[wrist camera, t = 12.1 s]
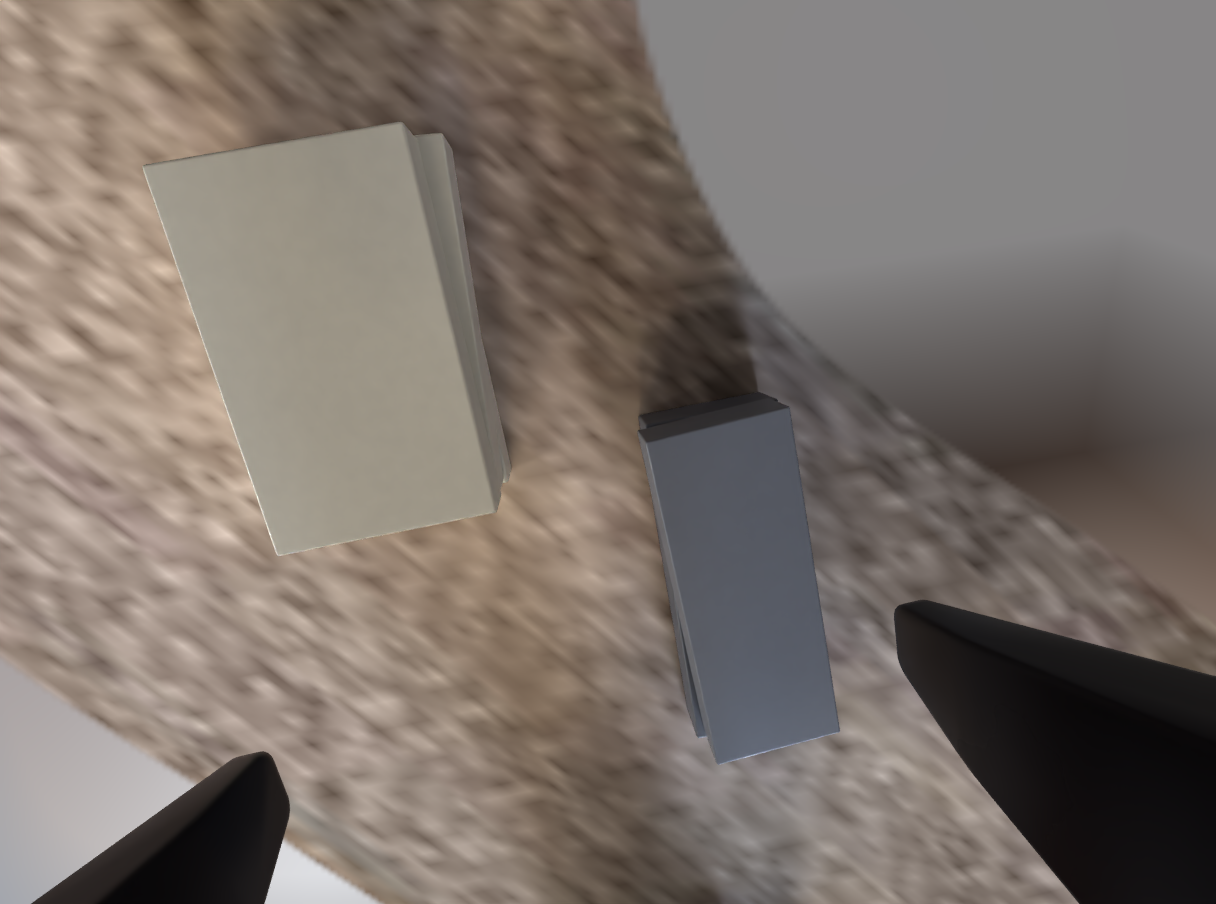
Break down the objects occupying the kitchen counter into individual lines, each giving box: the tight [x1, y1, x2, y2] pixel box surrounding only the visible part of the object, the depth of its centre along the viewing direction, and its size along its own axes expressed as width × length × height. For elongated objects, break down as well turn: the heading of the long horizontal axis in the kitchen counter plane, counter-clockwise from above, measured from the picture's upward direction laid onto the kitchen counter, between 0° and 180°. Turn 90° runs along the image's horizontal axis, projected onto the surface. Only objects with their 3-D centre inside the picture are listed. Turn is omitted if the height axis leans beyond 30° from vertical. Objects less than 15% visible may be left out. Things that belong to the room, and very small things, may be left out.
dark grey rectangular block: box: [638, 392, 840, 765], centre depth 19 cm, size 11×4×3 cm, turn 10°
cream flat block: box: [204, 133, 511, 490], centre depth 16 cm, size 10×6×3 cm, turn 10°
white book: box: [143, 122, 501, 556], centre depth 14 cm, size 9×6×1 cm, turn 10°
